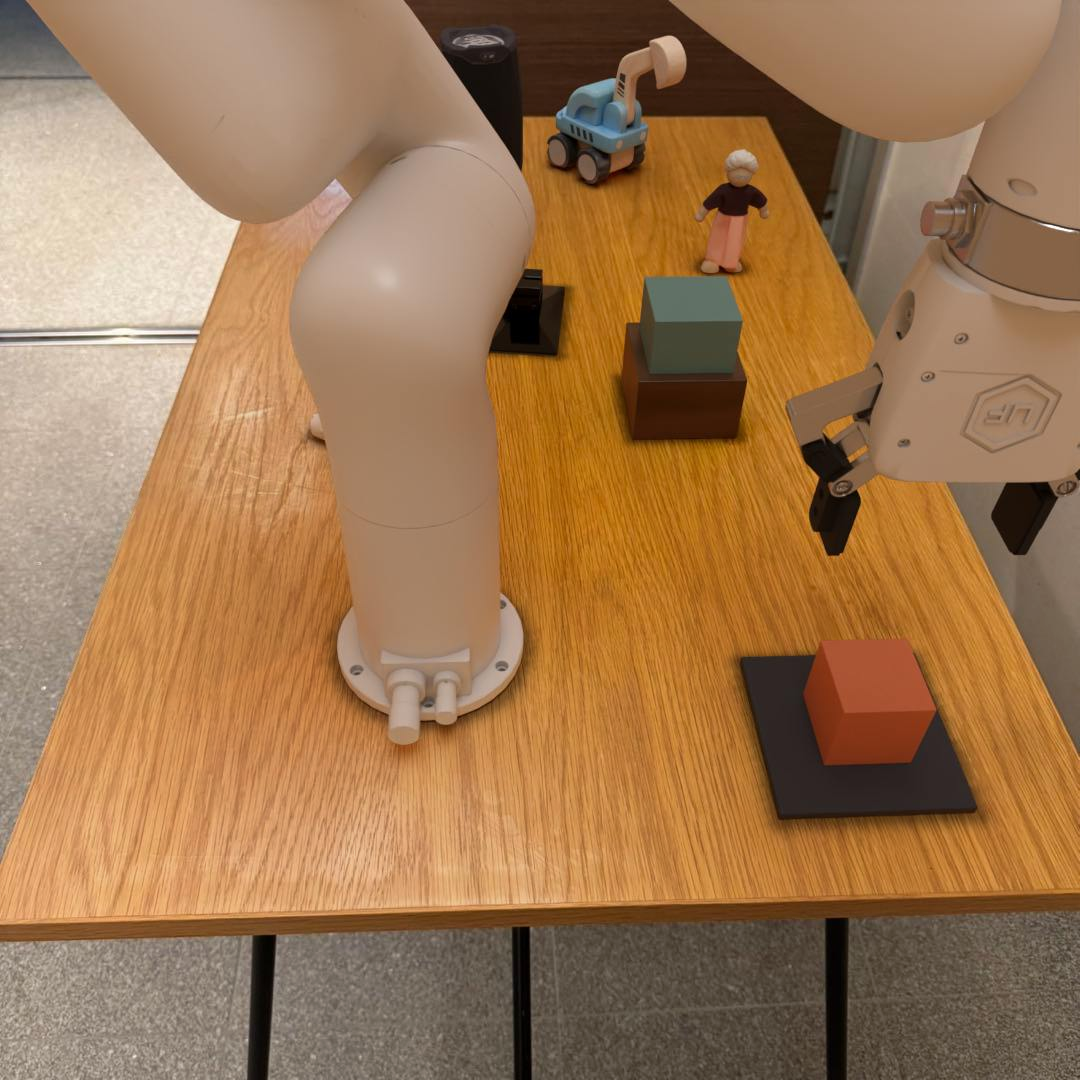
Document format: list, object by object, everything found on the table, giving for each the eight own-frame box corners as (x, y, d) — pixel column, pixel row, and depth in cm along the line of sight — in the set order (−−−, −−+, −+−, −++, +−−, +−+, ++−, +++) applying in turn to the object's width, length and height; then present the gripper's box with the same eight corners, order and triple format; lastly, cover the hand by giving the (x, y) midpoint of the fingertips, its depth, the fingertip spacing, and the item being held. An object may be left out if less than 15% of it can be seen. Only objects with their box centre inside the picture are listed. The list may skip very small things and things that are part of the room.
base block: (736, 438, 86) (747, 380, 82) (632, 439, 85) (638, 381, 81) (717, 377, 92) (727, 321, 88) (621, 378, 92) (626, 322, 88)
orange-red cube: (911, 763, 62) (937, 710, 58) (823, 766, 62) (844, 712, 58) (884, 691, 66) (907, 637, 62) (802, 694, 65) (820, 639, 62)
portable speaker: (427, 216, 114) (415, 33, 101) (488, 192, 119) (484, 14, 106) (477, 243, 110) (471, 55, 96) (538, 216, 115) (540, 34, 101)
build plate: (557, 357, 94) (558, 314, 91) (480, 353, 95) (479, 310, 91) (565, 289, 103) (566, 247, 100) (495, 285, 104) (494, 244, 100)
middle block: (733, 373, 82) (743, 320, 79) (649, 374, 82) (655, 321, 79) (718, 327, 87) (726, 275, 84) (639, 328, 87) (644, 276, 84)
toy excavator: (636, 208, 117) (650, 53, 105) (540, 162, 125) (543, 14, 114) (685, 187, 121) (703, 36, 109) (588, 144, 130) (596, 0, 118)
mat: (975, 812, 60) (978, 807, 60) (778, 819, 59) (780, 814, 59) (912, 657, 69) (914, 651, 68) (739, 662, 68) (741, 656, 68)
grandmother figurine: (699, 280, 105) (716, 161, 96) (685, 262, 108) (700, 146, 99) (765, 271, 107) (788, 154, 98) (750, 254, 109) (771, 138, 101)
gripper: (864, 277, 37) (769, 591, 49) (1307, 283, 38) (1108, 588, 50) (815, 186, 42) (740, 489, 54) (1204, 194, 43) (1047, 489, 55)
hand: (917, 536), depth 52 cm, fingers open, 9 cm apart
